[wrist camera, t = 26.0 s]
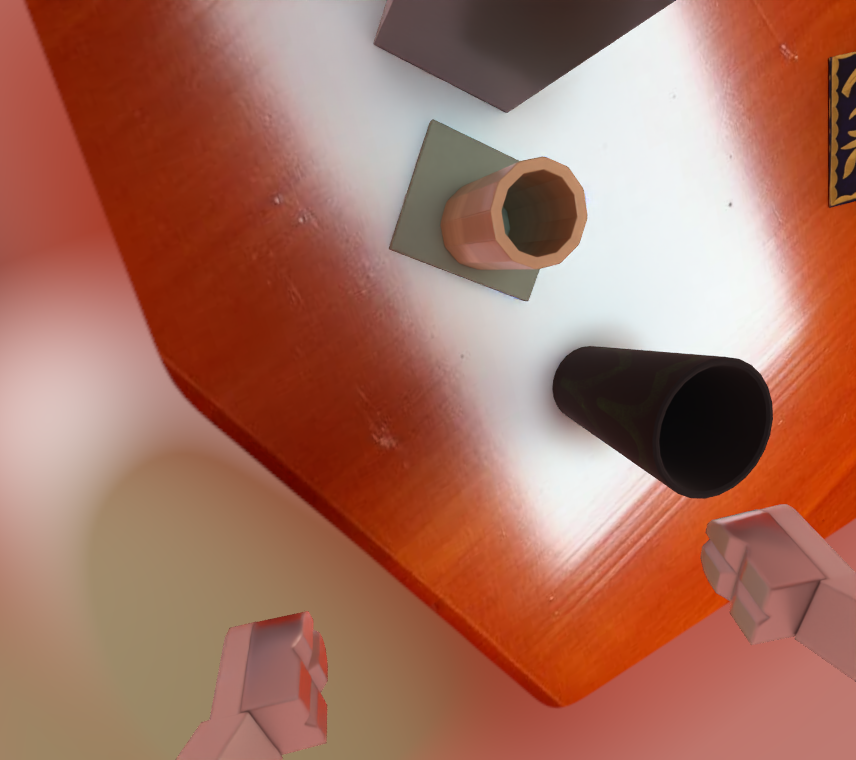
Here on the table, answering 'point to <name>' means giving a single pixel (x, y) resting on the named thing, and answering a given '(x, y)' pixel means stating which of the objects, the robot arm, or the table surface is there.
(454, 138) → the felt coaster
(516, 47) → the peg stand
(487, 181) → the orange hollow cylinder
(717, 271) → the table surface
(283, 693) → the robot arm
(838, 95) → the decorative box
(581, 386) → the cup
